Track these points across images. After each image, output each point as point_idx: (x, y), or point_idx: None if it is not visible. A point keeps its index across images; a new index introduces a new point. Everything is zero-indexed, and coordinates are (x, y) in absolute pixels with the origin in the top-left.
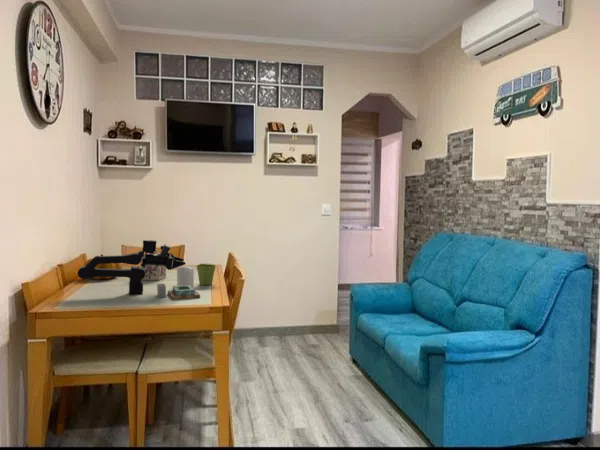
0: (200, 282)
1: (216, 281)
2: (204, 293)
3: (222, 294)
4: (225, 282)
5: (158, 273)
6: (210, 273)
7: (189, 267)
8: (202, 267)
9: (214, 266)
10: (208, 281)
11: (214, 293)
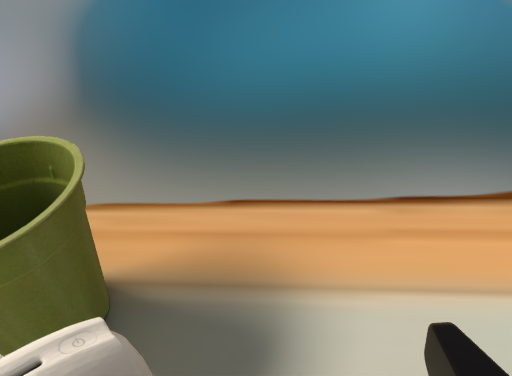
0: None
1: None
2: None
3: (481, 227)
4: None
5: None
6: (86, 216)
7: (58, 348)
8: (45, 221)
9: (66, 142)
10: (103, 281)
11: (446, 272)
